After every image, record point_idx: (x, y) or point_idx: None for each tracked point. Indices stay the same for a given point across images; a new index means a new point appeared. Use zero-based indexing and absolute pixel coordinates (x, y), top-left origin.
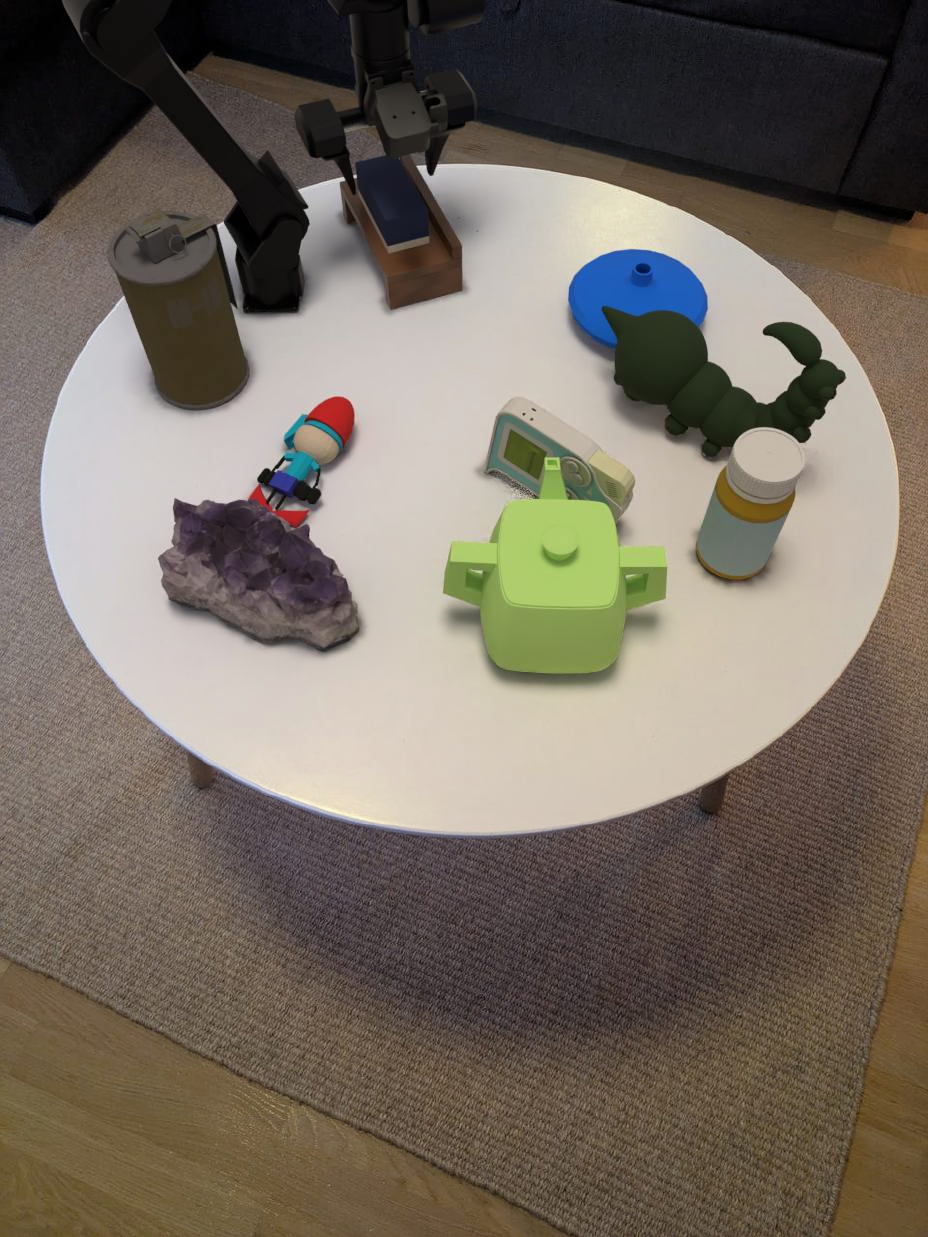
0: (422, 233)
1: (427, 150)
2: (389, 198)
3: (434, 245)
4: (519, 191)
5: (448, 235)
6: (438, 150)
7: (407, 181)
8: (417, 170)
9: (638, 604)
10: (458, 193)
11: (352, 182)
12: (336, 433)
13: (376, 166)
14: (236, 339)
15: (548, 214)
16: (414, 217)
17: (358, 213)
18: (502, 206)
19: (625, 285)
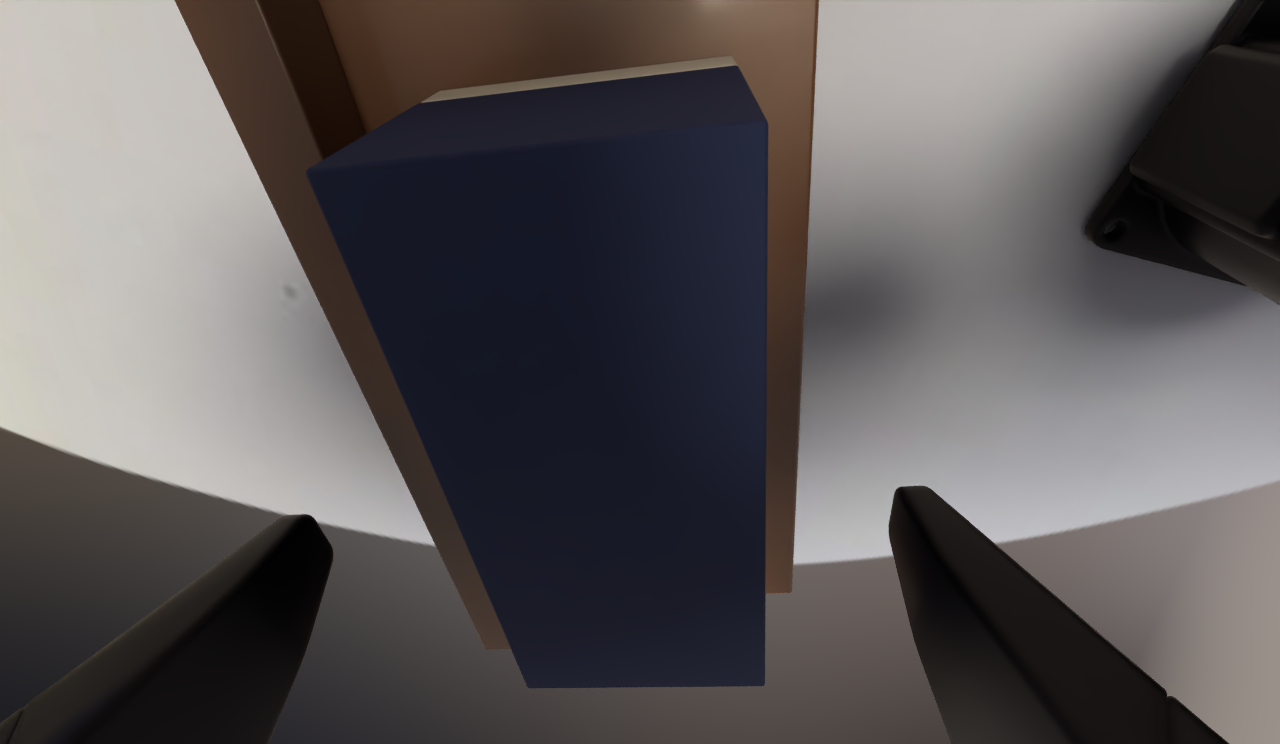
0: (454, 105)
1: (232, 714)
2: (645, 396)
3: (404, 57)
4: (156, 434)
5: (239, 12)
6: (39, 723)
7: (481, 510)
8: (454, 572)
9: None
10: (370, 472)
11: (990, 585)
12: None
13: (656, 642)
14: None
15: (11, 307)
16: (462, 139)
17: (785, 427)
18: (206, 386)
19: None
